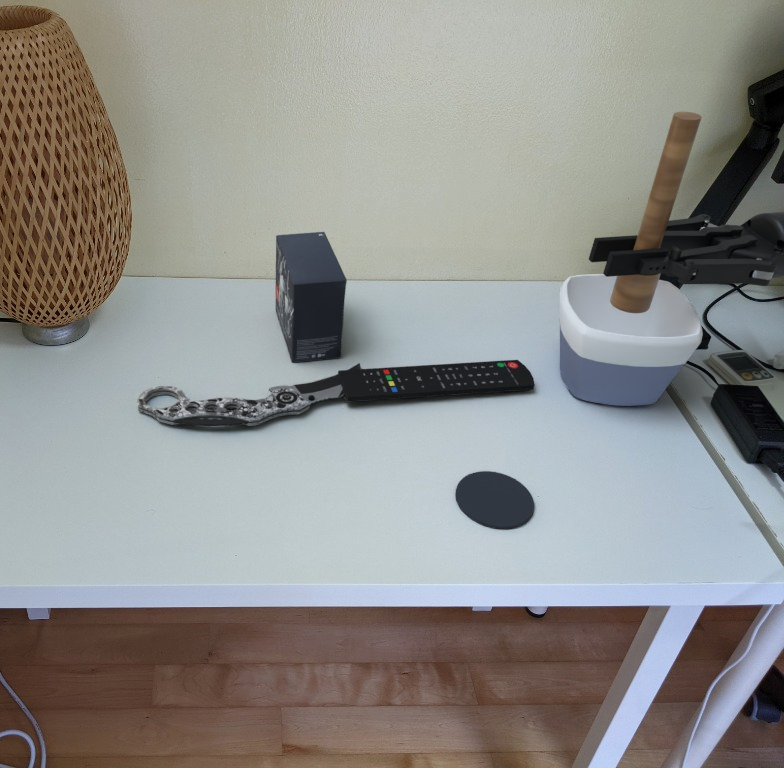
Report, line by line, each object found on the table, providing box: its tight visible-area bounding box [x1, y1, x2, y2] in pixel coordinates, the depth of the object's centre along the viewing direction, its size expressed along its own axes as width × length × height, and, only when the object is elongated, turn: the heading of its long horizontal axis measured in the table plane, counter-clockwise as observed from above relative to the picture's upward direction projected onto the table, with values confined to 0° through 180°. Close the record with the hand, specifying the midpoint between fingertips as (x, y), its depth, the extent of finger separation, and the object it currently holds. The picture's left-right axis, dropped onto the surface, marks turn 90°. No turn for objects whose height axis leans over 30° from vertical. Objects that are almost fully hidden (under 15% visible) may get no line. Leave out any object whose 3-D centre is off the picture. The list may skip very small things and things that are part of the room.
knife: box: [136, 362, 362, 427], centre depth 93 cm, size 28×2×10 cm
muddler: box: [610, 111, 703, 313], centre depth 84 cm, size 4×4×22 cm
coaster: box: [454, 470, 535, 530], centre depth 81 cm, size 8×8×1 cm
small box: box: [274, 231, 348, 363], centre depth 101 cm, size 13×7×12 cm, turn 10°
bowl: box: [558, 273, 704, 407], centre depth 94 cm, size 15×15×11 cm
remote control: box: [337, 359, 535, 403], centre depth 95 cm, size 5×24×1 cm, turn 98°
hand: (600, 257), depth 86 cm, fingers closed on muddler, 3 cm apart
